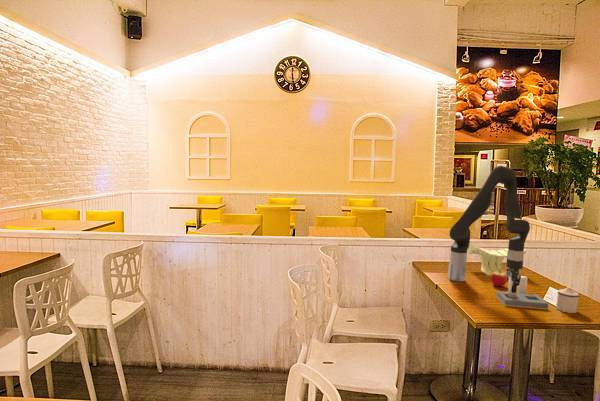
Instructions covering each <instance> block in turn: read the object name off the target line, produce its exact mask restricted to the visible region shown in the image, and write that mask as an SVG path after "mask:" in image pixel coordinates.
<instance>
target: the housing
mask: <svg viewBox="0 0 600 401" xmlns="http://www.w3.org/2000/svg"><path fill="white" fill-rule="evenodd" d="M507 292H508V291H501V290H496V296H495V297H496V298H497V299H498V300H499V301H500V303H502V305H503V306H505V307H515V308H517V307H518V308H526V309H528V308H529V309H538V310H549V303H548V302H547V301H546V300H544V299H543V298H542V297H541V296H540V295H539V294H538V293H537V294H536V293H527V294H525V293H517V296H516V298H512V297H509V296H508V294H507Z"/></svg>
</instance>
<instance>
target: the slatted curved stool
mask: <svg viewBox="0 0 600 401" xmlns="http://www.w3.org/2000/svg"><path fill="white" fill-rule="evenodd" d="M507 253H508V248H503V249H496V250H494V249H492V250H491V249H489V250H488V249H485V248H481V247H479V246H476V245H475V244H473V243H471V242H470V243H469V248H468V250H467V255H473V254H474V255H478V256H480V260H481V266H480V271H482V272H483V273H484V274H485V275H487V276H490V277H491V275H492V273H494V272H500V273H504V274H506V276H507V271H505V270H504V269H503V267H502V264H503V261H504V259H505V258H506V259H507ZM526 254H527V249H525V248H524V255H526ZM500 269H501V270H500Z"/></svg>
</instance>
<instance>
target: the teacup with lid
mask: <svg viewBox="0 0 600 401" xmlns="http://www.w3.org/2000/svg"><path fill="white" fill-rule="evenodd" d="M556 297H557V298H556V306H555V307H556V310H558V311H559V312H563V313H566V312H567V313H566V314H576V313H577V312H578V308H579V307H578V305H579V299H580V298H579V297H580V294H579V292H577V291H575V290H573V289H572V287H570V286H567V287H566V288H563V289H558V290H557V296H556Z"/></svg>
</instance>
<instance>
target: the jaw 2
mask: <svg viewBox="0 0 600 401" xmlns="http://www.w3.org/2000/svg"><path fill="white" fill-rule="evenodd" d="M527 288H528V277H527V276H524V275H521V279H520V283H519V286H517V293H525V294H528V292H527Z"/></svg>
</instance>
